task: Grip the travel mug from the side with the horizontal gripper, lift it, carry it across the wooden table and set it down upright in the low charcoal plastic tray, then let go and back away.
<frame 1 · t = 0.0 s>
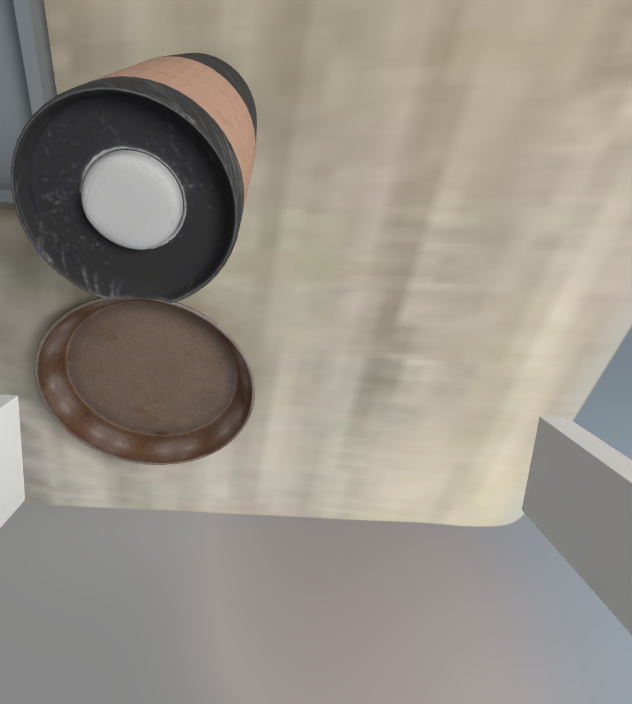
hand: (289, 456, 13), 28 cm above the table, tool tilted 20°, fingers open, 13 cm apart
travel mug: (203, 114, 34), on the table
plant saucer: (155, 368, 45), on the table
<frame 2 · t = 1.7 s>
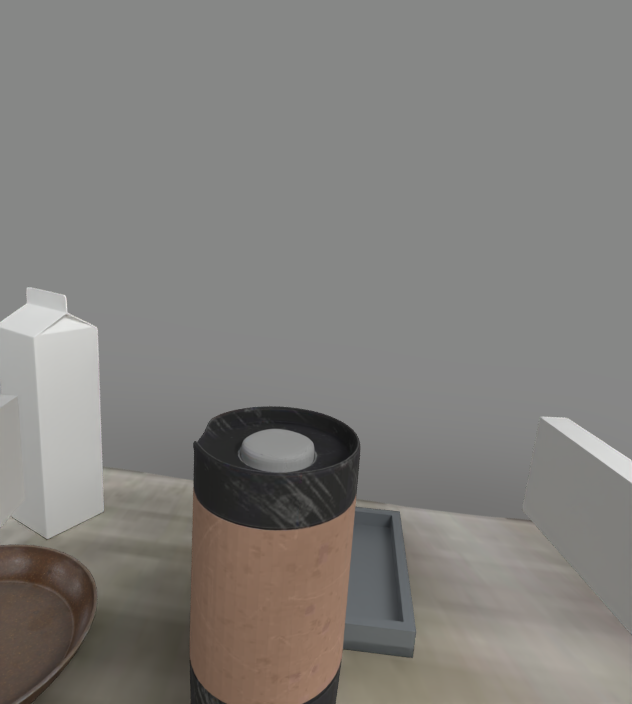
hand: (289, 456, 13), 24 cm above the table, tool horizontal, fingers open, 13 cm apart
tray: (313, 572, 44), on the table
milk: (58, 516, 50), on the table
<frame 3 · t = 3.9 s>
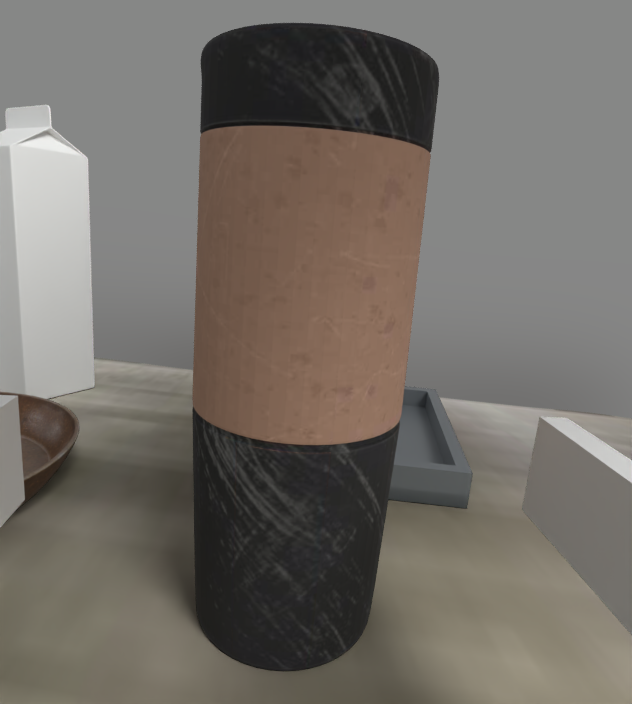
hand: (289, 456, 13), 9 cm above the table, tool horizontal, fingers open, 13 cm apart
tray: (338, 439, 37), on the table
travel mug: (283, 603, 21), on the table
milk: (42, 389, 43), on the table
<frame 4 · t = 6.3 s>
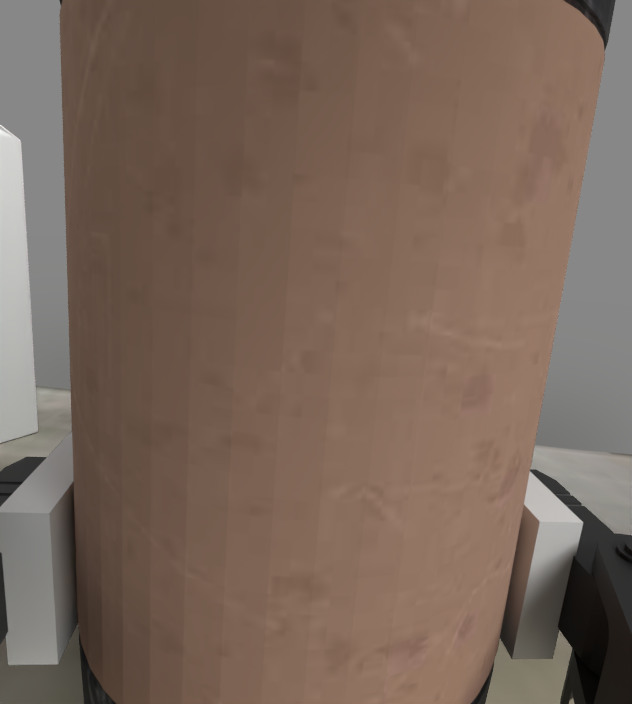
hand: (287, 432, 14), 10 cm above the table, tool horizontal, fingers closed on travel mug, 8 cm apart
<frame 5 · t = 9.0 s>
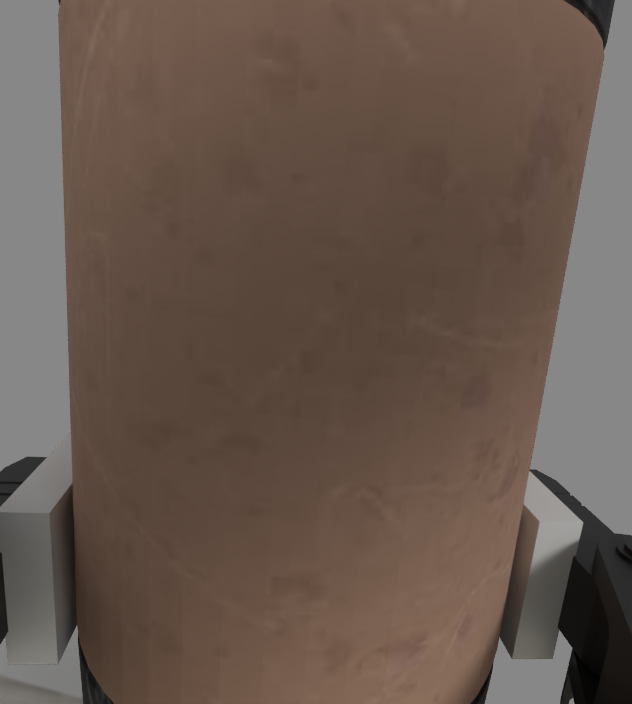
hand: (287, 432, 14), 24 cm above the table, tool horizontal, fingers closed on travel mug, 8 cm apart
when the fingers open (11 cm above the table, at t = 12.1 s): travel mug drops 1 cm, resting on tray.
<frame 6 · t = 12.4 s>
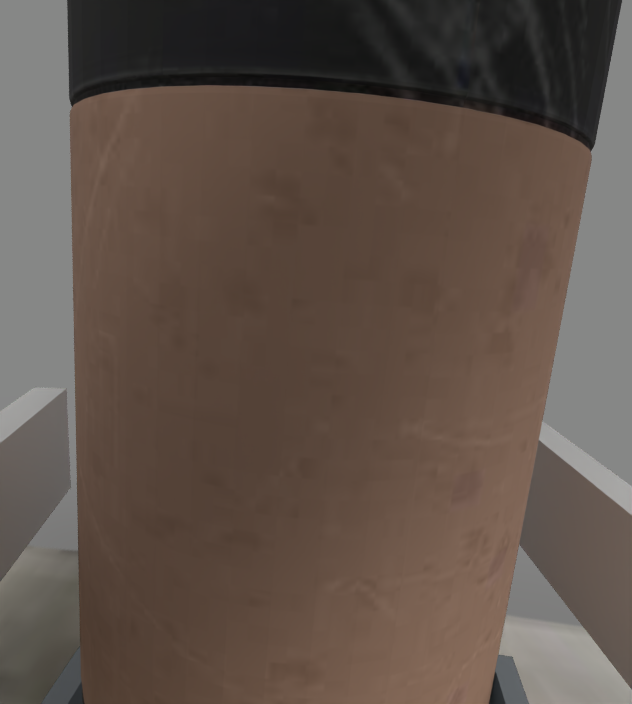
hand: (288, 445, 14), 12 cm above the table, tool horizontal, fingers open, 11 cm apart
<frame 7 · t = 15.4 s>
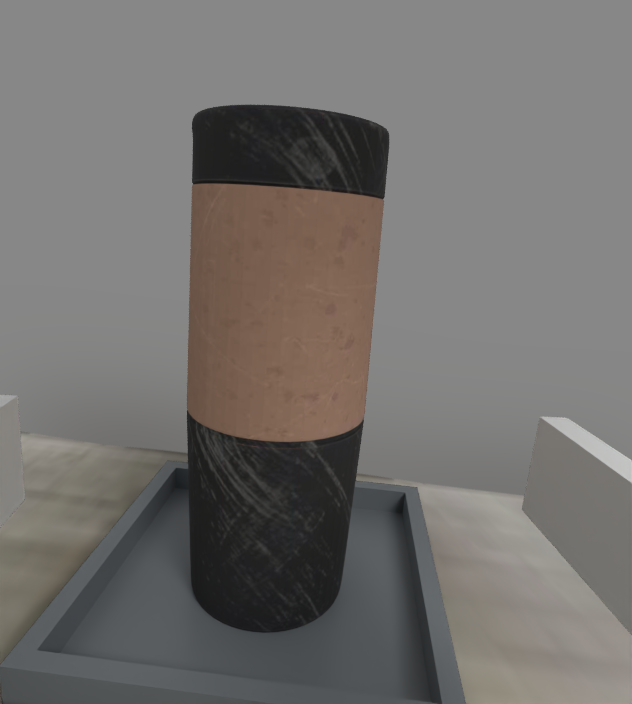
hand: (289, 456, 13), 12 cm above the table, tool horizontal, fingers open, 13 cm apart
tray: (266, 590, 25), on the table
travel mug: (266, 580, 25), point 1 cm above the table, touching tray
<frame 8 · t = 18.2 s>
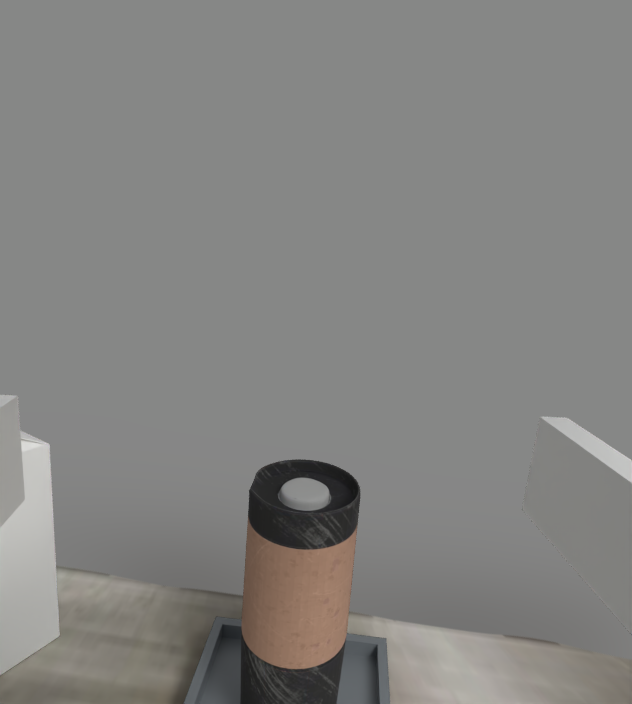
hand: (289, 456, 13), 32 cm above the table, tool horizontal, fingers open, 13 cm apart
milk: (8, 643, 45), on the table
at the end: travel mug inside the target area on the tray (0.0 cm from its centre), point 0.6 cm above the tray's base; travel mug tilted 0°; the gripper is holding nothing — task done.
